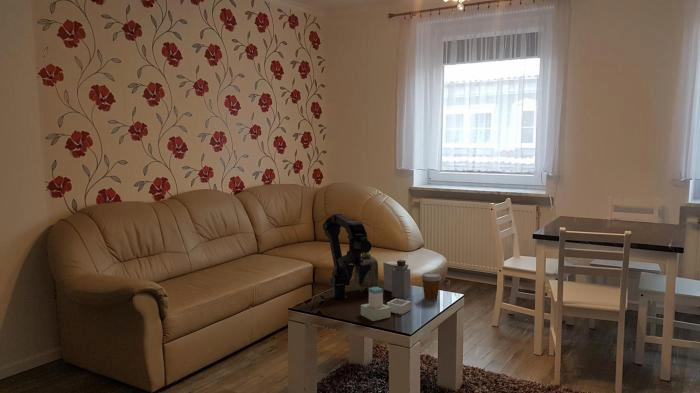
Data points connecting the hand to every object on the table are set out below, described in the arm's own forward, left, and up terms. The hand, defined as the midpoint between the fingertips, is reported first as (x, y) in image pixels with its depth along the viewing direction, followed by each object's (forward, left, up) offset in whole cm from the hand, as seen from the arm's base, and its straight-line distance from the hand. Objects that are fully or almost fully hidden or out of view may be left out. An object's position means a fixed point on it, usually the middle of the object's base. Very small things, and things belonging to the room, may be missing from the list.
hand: (355, 281), depth 237 cm
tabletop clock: (-21, +14, -12) cm, 28 cm away
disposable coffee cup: (+1, +40, -12) cm, 42 cm away
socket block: (+15, +4, -12) cm, 20 cm away
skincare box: (-18, +28, -12) cm, 35 cm away
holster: (+12, +17, -12) cm, 24 cm away
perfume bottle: (-8, +28, -12) cm, 32 cm away
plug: (+15, +4, -12) cm, 20 cm away
